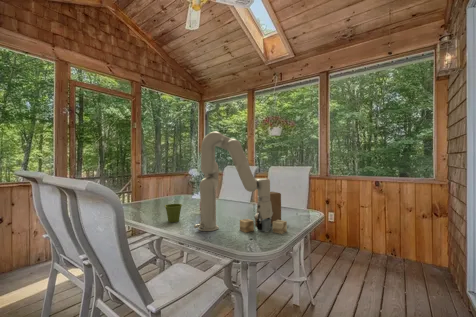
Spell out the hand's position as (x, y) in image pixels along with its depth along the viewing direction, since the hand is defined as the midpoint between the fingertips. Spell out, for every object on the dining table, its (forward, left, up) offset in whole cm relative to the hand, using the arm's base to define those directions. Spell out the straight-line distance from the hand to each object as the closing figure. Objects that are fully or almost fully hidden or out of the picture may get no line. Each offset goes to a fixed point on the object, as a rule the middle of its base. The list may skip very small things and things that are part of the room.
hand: (264, 227), depth 141 cm
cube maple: (+3, -9, -1) cm, 10 cm away
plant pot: (-26, +59, -1) cm, 64 cm away
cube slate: (0, 0, -1) cm, 1 cm away
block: (+17, +7, -1) cm, 18 cm away
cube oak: (-8, +7, -1) cm, 11 cm away
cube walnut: (+7, +8, -1) cm, 11 cm away
